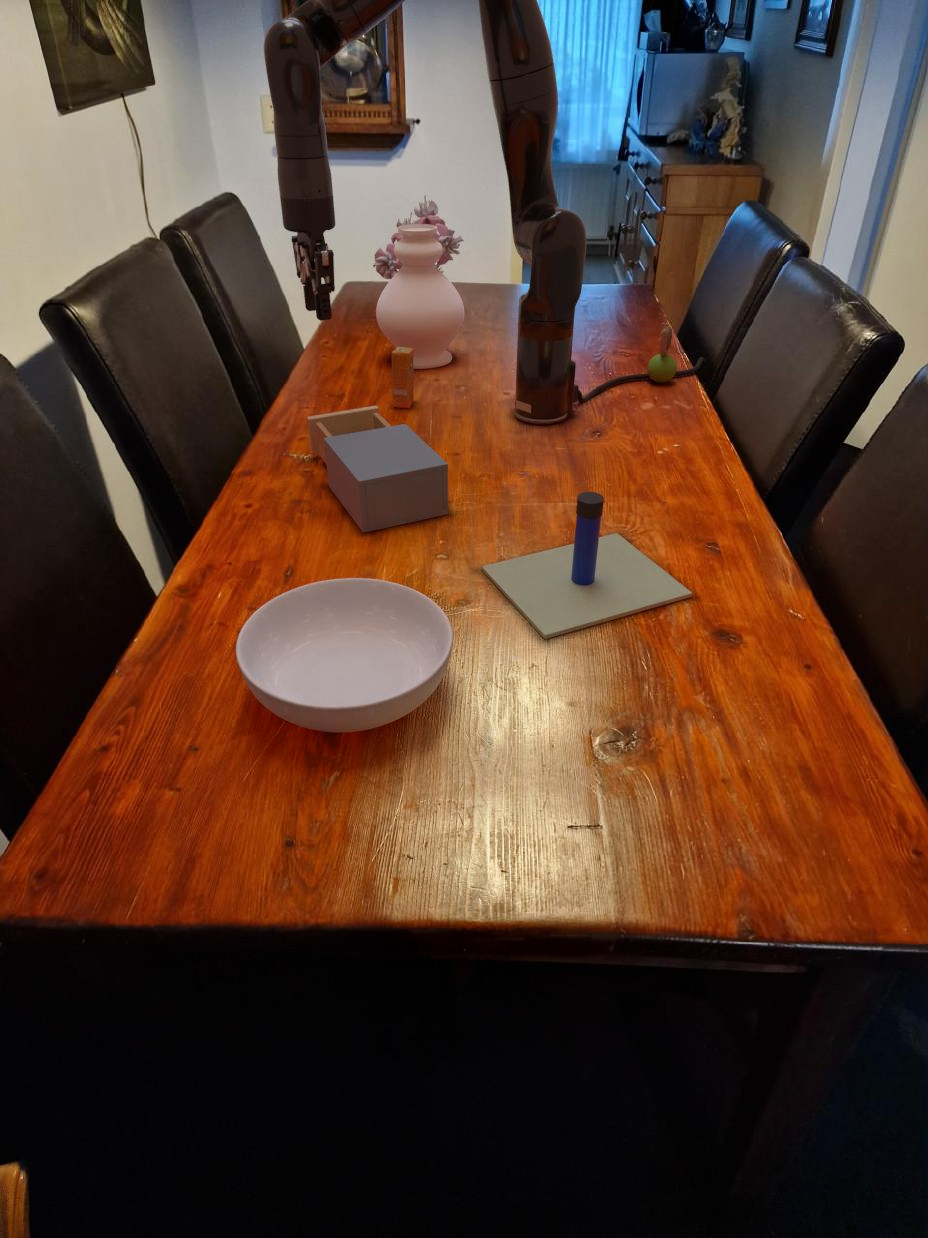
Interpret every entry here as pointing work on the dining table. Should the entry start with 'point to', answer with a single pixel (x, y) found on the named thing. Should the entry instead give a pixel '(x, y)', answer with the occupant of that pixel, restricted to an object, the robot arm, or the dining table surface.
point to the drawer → (341, 425)
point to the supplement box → (402, 377)
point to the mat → (583, 586)
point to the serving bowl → (345, 653)
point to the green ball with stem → (663, 359)
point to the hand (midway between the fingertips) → (318, 314)
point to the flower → (389, 262)
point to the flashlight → (586, 537)
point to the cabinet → (386, 477)
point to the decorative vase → (420, 300)
